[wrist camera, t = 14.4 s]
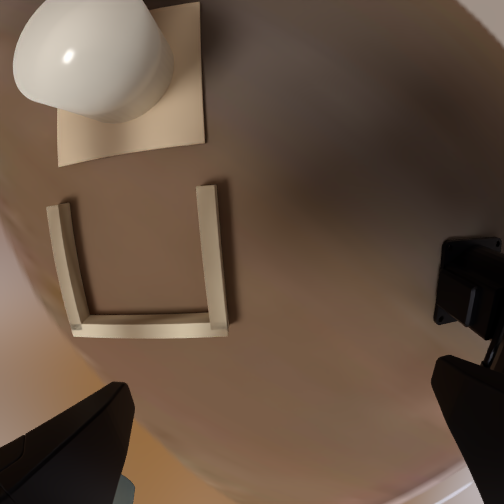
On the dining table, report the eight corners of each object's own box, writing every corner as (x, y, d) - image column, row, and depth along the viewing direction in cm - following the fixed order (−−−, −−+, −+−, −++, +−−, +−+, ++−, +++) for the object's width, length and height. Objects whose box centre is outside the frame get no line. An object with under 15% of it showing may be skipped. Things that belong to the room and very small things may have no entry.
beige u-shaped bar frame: (216, 184, 18) (214, 185, 16) (229, 325, 20) (228, 336, 19) (58, 204, 18) (46, 207, 16) (82, 327, 20) (73, 336, 18)
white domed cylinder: (175, 113, 17) (137, 80, 10) (76, 133, 16) (7, 120, 10) (175, -26, 14) (153, -87, 7) (86, -2, 14) (42, -46, 7)
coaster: (199, 3, 15) (199, 1, 15) (205, 143, 17) (204, 142, 17) (65, 37, 15) (63, 35, 15) (60, 167, 17) (58, 167, 17)
